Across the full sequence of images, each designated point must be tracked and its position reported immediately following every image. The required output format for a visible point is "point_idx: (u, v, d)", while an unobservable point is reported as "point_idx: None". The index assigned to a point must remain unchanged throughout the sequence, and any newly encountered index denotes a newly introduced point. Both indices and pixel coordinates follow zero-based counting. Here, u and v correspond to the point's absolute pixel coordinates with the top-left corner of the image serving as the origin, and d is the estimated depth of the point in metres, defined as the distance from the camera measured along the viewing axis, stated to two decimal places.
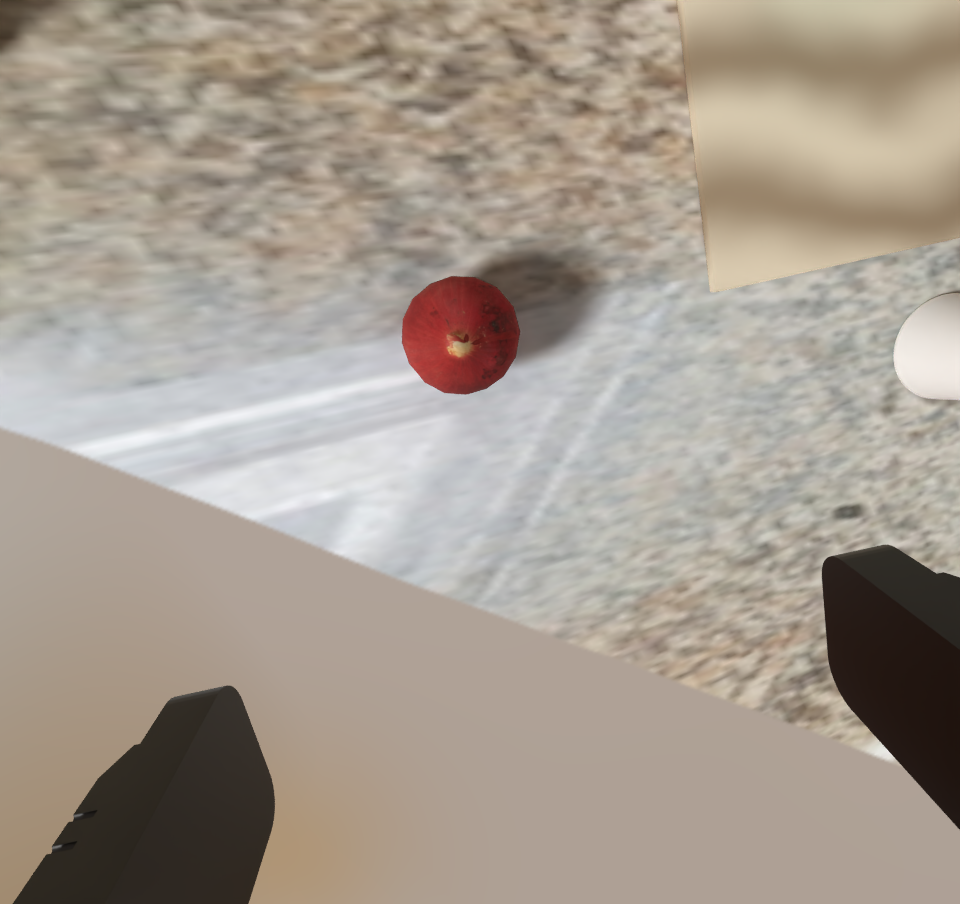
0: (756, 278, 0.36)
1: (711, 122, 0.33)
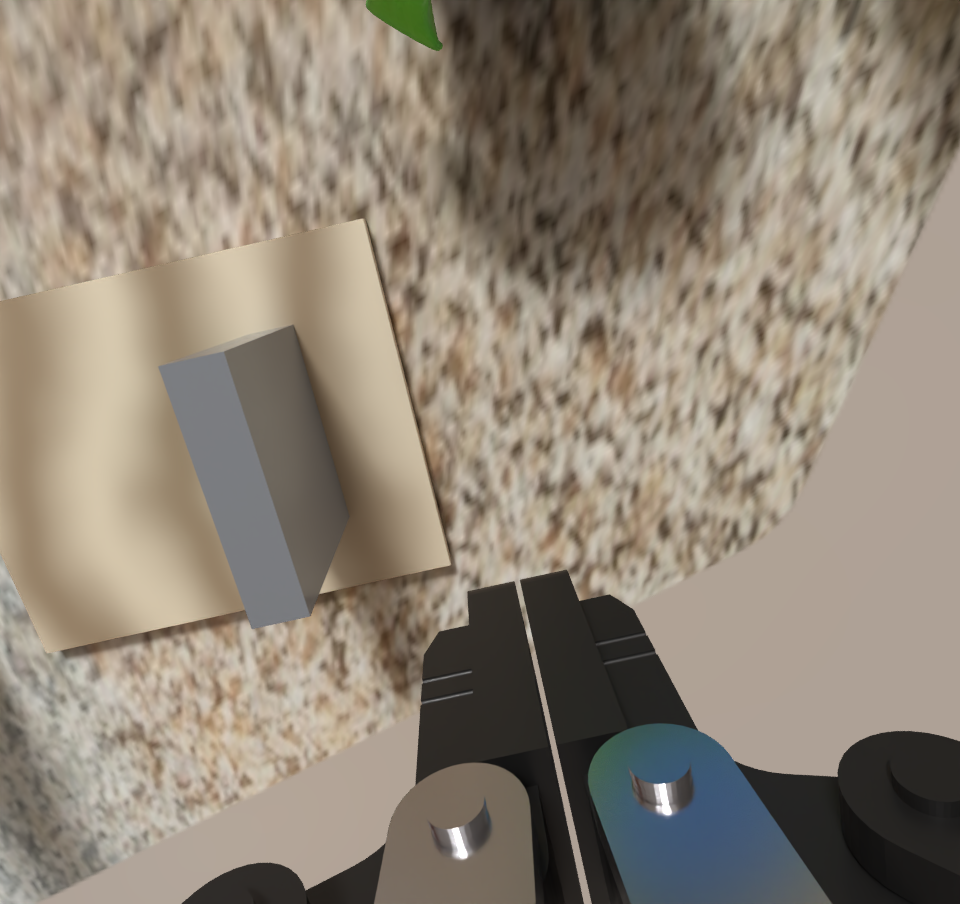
0: None
1: (96, 299, 0.27)
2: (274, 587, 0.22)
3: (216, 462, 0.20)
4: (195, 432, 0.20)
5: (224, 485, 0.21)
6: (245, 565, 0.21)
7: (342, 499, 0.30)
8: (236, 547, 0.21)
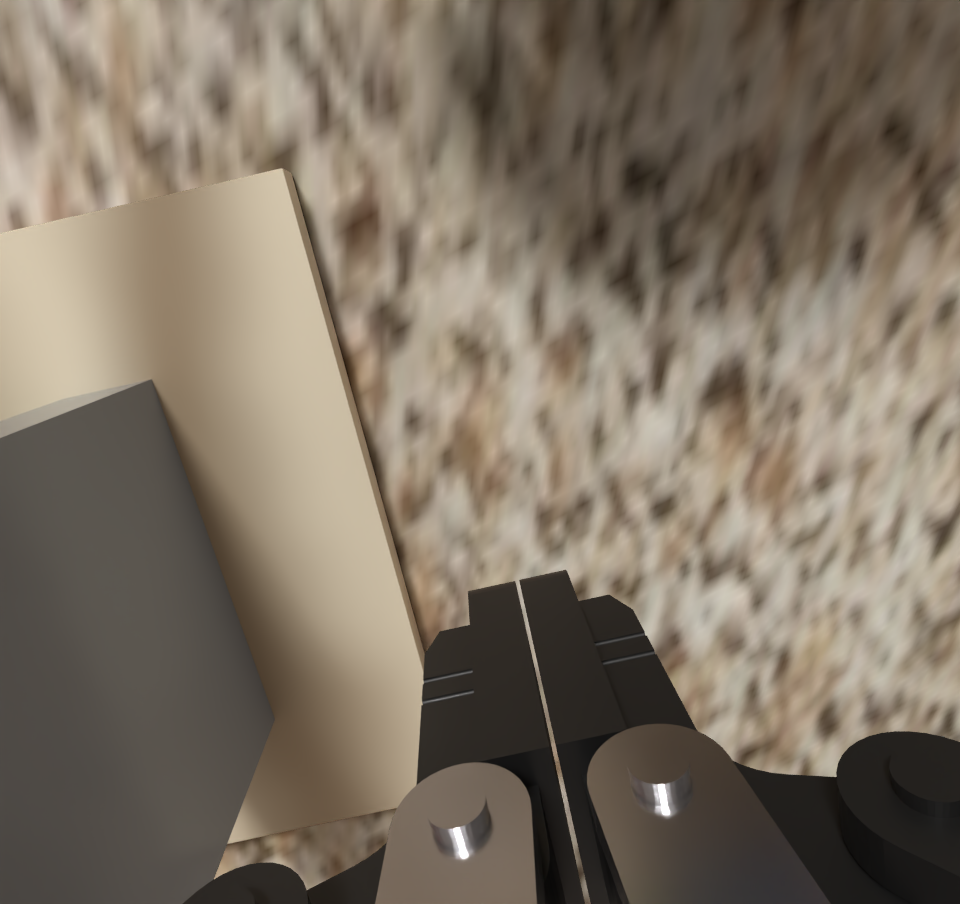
0: None
1: None
2: None
3: None
4: None
5: None
6: None
7: (258, 696, 0.16)
8: None
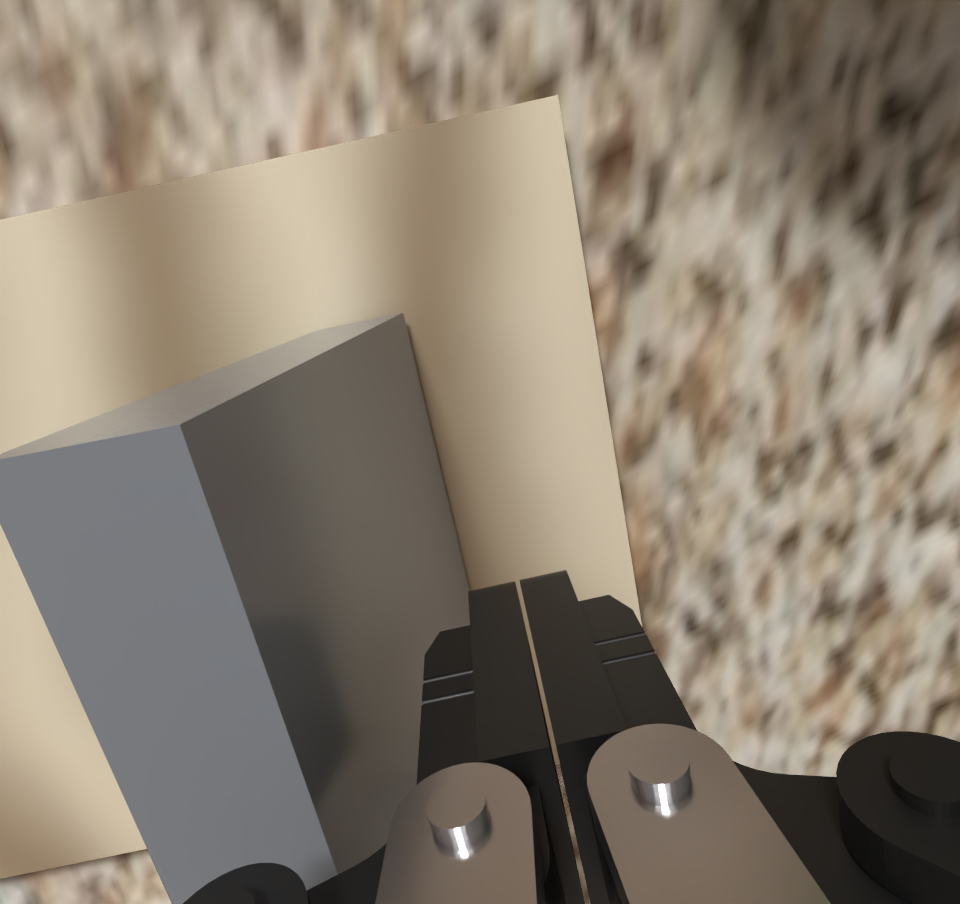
0: None
1: (14, 257, 0.14)
2: None
3: (170, 752, 0.07)
4: (104, 667, 0.06)
5: (195, 813, 0.07)
6: None
7: None
8: None
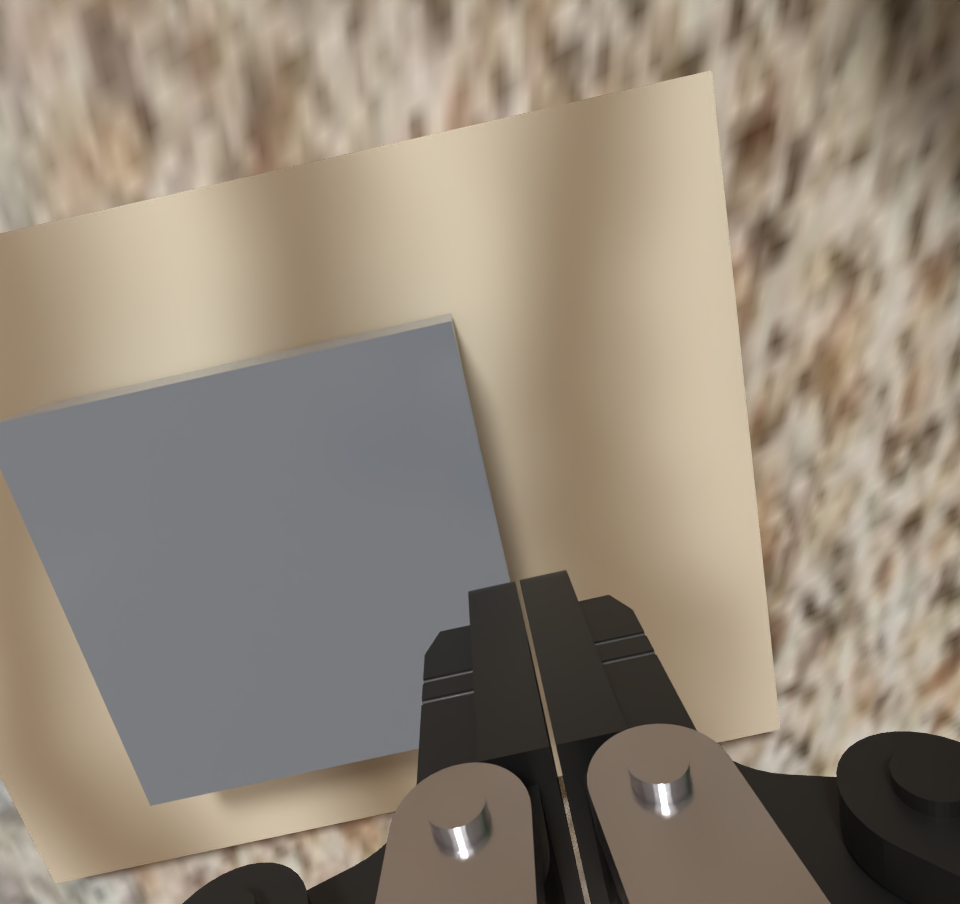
0: None
1: (160, 238, 0.14)
2: None
3: None
4: None
5: None
6: None
7: None
8: None
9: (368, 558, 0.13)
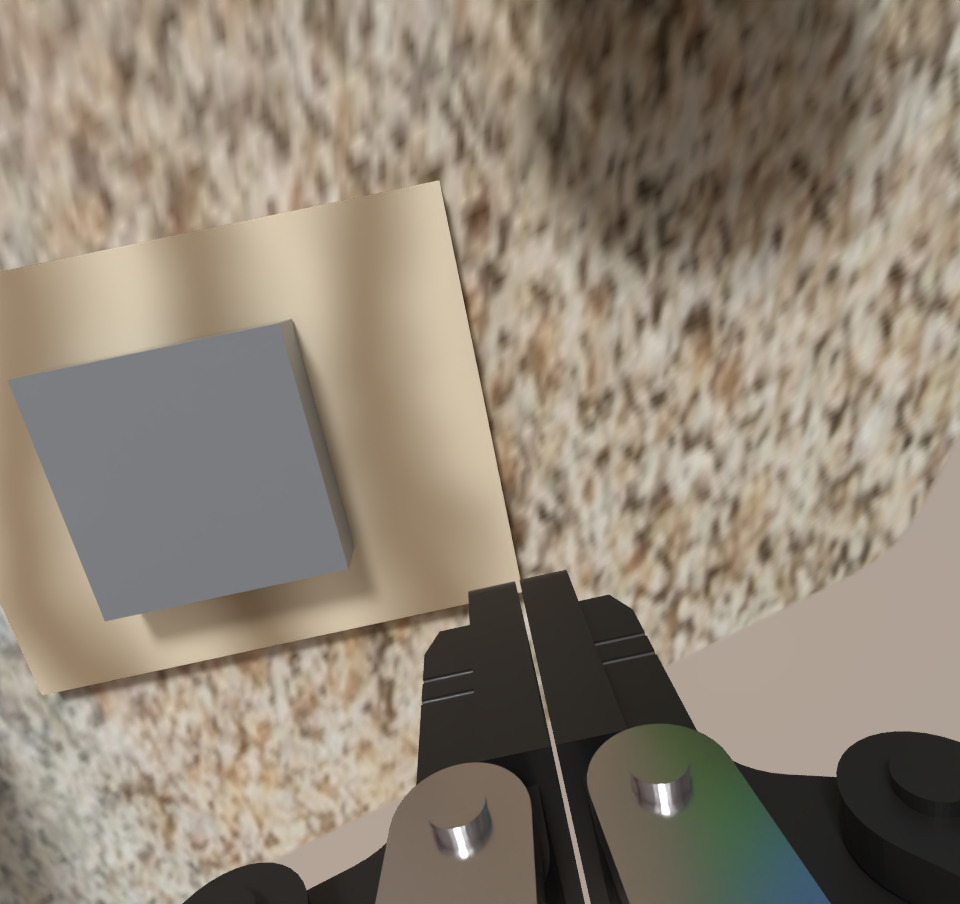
0: None
1: (114, 272, 0.23)
2: None
3: None
4: None
5: None
6: None
7: (330, 546, 0.24)
8: None
9: (236, 462, 0.23)
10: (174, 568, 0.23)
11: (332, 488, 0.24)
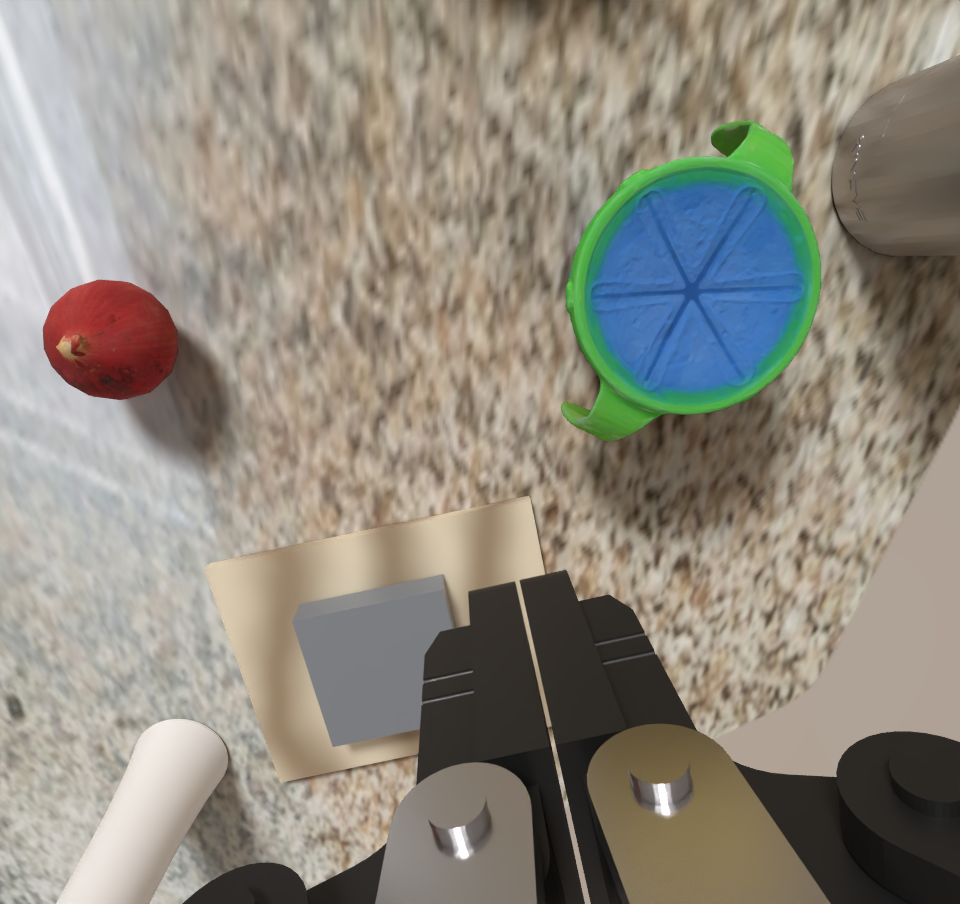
0: (219, 601, 0.40)
1: (344, 551, 0.40)
2: None
3: None
4: None
5: None
6: None
7: None
8: None
9: (414, 661, 0.40)
10: (374, 718, 0.40)
11: None
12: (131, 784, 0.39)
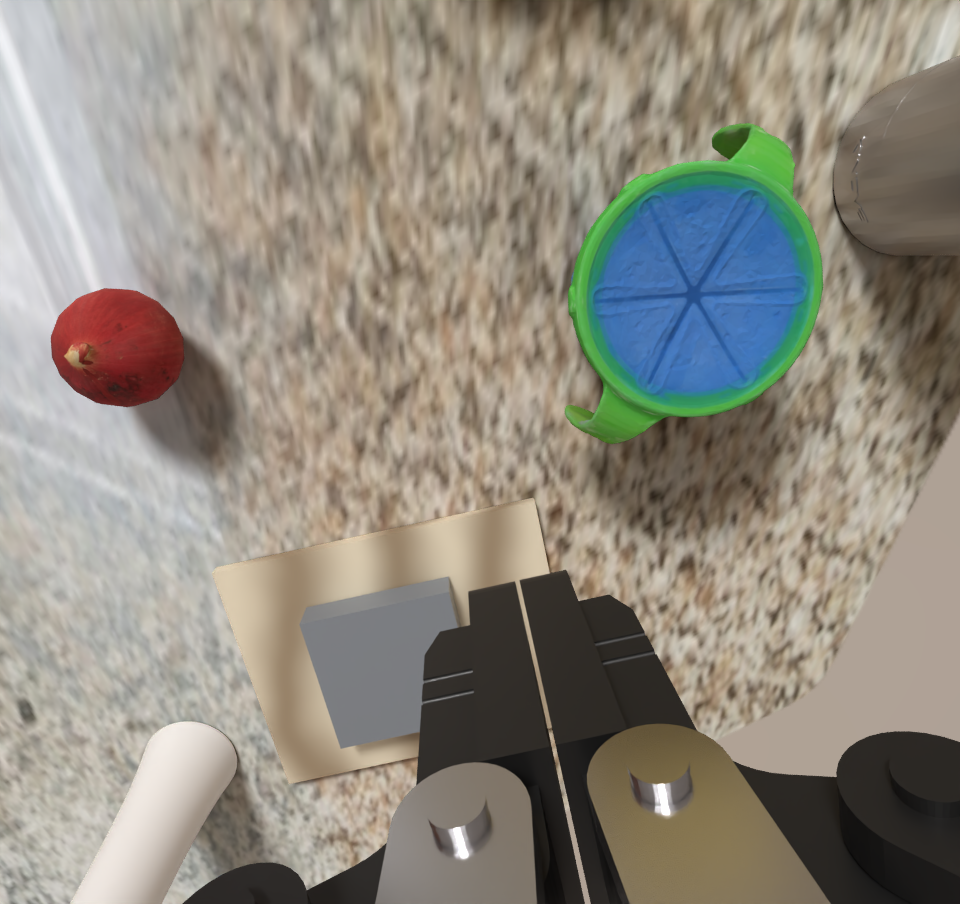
0: (227, 605, 0.40)
1: (350, 554, 0.40)
2: None
3: None
4: None
5: None
6: None
7: None
8: None
9: (420, 663, 0.40)
10: (382, 719, 0.41)
11: None
12: (142, 787, 0.39)
